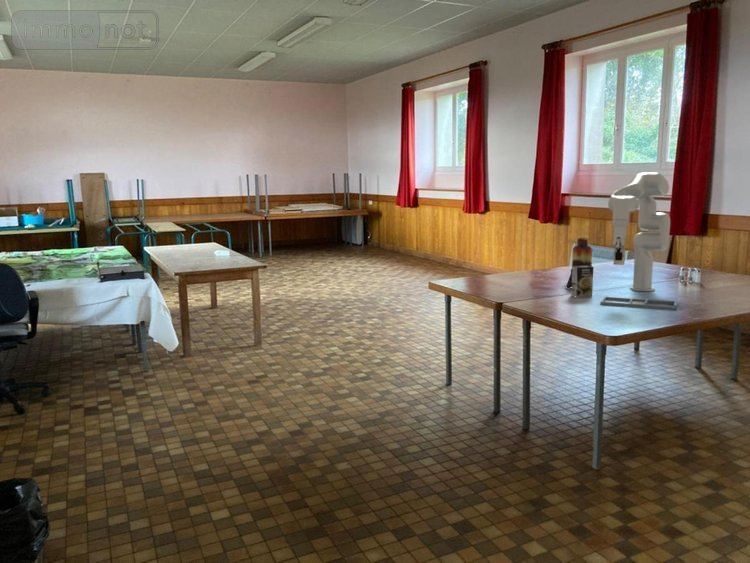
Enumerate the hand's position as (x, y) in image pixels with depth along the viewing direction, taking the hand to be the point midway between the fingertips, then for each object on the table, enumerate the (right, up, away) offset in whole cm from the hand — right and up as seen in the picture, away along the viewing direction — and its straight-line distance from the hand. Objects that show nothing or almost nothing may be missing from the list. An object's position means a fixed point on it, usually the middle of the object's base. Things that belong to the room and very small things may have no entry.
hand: (619, 259), depth 303 cm
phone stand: (-7, -15, +44) cm, 47 cm away
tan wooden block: (0, -2, 0) cm, 2 cm away
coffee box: (-11, -19, +23) cm, 32 cm away
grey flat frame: (+9, -22, -1) cm, 24 cm away
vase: (+3, -11, +65) cm, 66 cm away
